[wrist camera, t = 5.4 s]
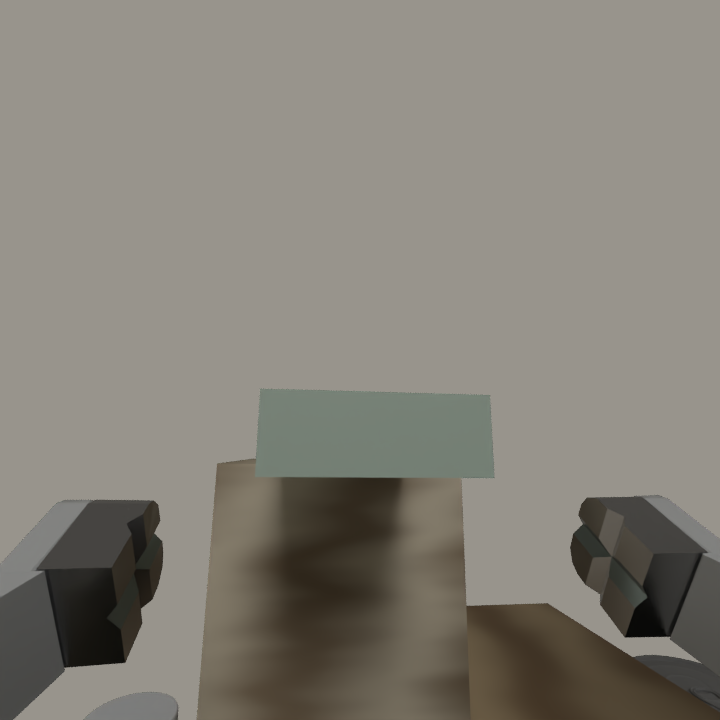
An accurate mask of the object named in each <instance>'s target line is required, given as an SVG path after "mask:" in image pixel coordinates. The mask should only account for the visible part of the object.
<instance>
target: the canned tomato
mask: <svg viewBox="0 0 720 720" xmlns="http://www.w3.org/2000/svg"><path fill="white" fill-rule="evenodd" d="M633 658H635V659H636V660H638V661H639V662H641V663H642V664H644V665H646V666H647V667H649V668H650V669H652V670H654V671H655V672H657V673H658V674H660V675H661V676H663V677H665V678H666V679H668V680H669V681H671V682H672V683H674V684H676V685H677V686H679V687H680V688H682V689H684V690H685V691H687V692H688V693H690V694H691V695H693V696H695V697H696V698H698V699H699V700H701V701H703V702H704V703H706V704H707V705H709V706H710V707H712V708H714V709H715V710H717V711H718V712H720V676H718V675H717V674H716V673H714V672H713V671H712V670H710V669H709V668H708V667H706V666H705V665H704V664H701V663H697V662H694V661H690V660H685V659H681V658H675V657H669V656H659V655H644V656H636V657H633Z"/></svg>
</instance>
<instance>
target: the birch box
mask: <svg viewBox="0 0 720 720" xmlns="http://www.w3.org/2000/svg"><path fill="white" fill-rule="evenodd" d="M255 467H256V459H248V460H240V461H234V462H226V463H218V464H217V473H216V485H215V497H214V510H213V511H214V512H213V522H212V535H211V547H210V560H209V573H208V585H207V586H208V587H207V598H206V610H205V624H204V635H203V648H202V661H201V673H200V685H199V698H198V710H197V720H471V715H470V689H469V663H468V637H467V611H466V589H465V588H466V586H465V559H464V534H463V507H462V480H461V478H362V477H255Z"/></svg>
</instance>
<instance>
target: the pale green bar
mask: <svg viewBox="0 0 720 720" xmlns="http://www.w3.org/2000/svg"><path fill="white" fill-rule="evenodd" d="M490 406H491V405H490V395H466V394H432V393H397V392H361V391H325V390H289V389H288V390H287V389H286V390H285V389H260V403H259V419H258V436H257V452H256V467H255V477H362V478H494V461H493V442H492V424H491V407H490Z"/></svg>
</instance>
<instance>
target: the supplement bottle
mask: <svg viewBox="0 0 720 720" xmlns="http://www.w3.org/2000/svg"><path fill="white" fill-rule="evenodd" d="M84 720H178V704H177V702H176V700H175V699H174V698H173V697H171V696H170V695H167V694H163V693H157V692H142V693H135V694H130V695H126V696H123V697H120V698H117V699H114V700H111V701H109V702H107V703H105V704H103V705H101V706H100V707H98V708H96V709H95V710H94V711H92V712H91V713H90V714H89V715H87V716H86V718H85V719H84Z"/></svg>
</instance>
